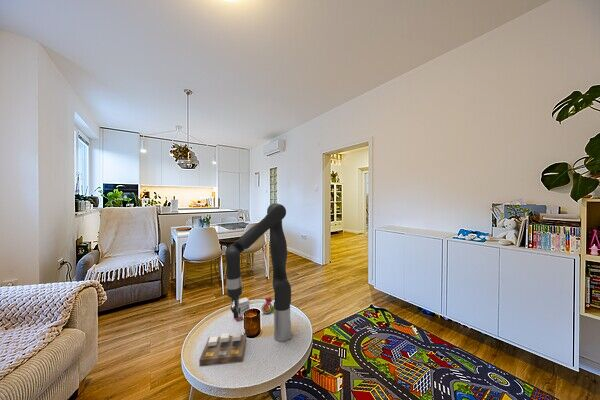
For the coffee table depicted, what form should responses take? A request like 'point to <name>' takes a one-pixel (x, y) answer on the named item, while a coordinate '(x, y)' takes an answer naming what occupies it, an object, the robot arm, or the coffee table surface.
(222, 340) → the middle key
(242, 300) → the ink box
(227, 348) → the switch board
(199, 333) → the coffee table surface
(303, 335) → the coffee table surface
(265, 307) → the bird rattle
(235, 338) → the key
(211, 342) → the key
